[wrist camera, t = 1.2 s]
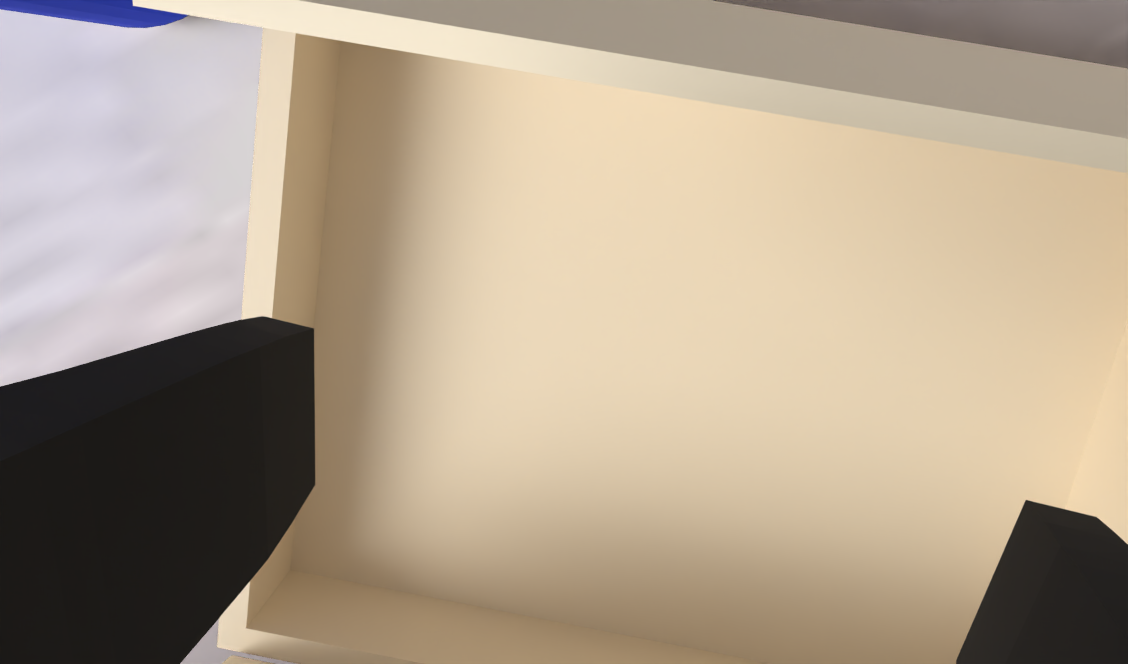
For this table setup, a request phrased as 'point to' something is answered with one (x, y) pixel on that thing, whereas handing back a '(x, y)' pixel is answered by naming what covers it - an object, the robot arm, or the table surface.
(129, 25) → the beverage can
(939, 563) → the carton
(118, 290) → the table surface
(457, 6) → the flap
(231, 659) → the flap
